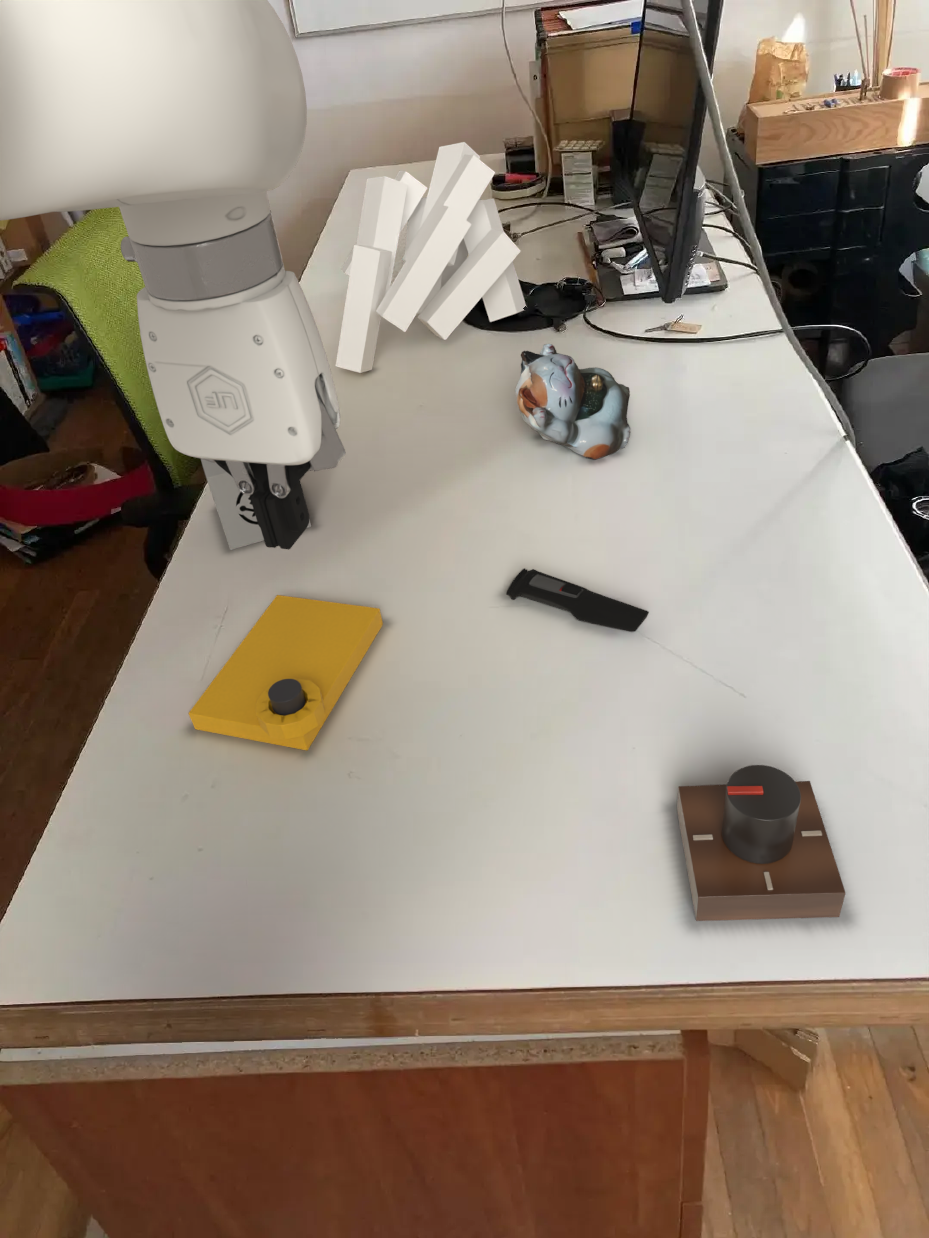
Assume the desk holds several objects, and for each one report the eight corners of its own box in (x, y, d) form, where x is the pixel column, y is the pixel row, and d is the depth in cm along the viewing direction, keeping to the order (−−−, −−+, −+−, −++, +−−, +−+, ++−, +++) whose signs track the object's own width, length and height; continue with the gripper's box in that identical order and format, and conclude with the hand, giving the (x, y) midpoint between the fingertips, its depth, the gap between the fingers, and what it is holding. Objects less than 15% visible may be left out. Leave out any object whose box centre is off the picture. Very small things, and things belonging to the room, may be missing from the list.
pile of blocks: (462, 428, 139) (553, 186, 123) (281, 349, 140) (347, 99, 124) (504, 385, 170) (581, 187, 153) (355, 321, 171) (416, 118, 155)
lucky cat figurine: (627, 465, 115) (574, 387, 106) (544, 488, 122) (487, 417, 113) (640, 380, 123) (591, 301, 114) (562, 406, 130) (510, 334, 121)
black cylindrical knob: (296, 718, 82) (291, 704, 81) (266, 713, 83) (261, 699, 82) (311, 695, 84) (306, 681, 83) (282, 690, 85) (277, 676, 84)
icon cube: (294, 488, 120) (275, 418, 114) (311, 526, 113) (292, 454, 106) (217, 509, 118) (194, 440, 112) (230, 550, 111) (206, 477, 104)
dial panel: (839, 917, 66) (846, 891, 64) (695, 921, 67) (698, 895, 65) (805, 805, 73) (810, 779, 71) (676, 810, 74) (678, 784, 72)
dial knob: (785, 808, 70) (793, 761, 66) (798, 864, 66) (808, 817, 63) (717, 808, 70) (722, 761, 67) (726, 864, 67) (731, 817, 63)
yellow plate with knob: (312, 760, 83) (302, 729, 80) (189, 736, 87) (176, 706, 84) (391, 625, 96) (385, 595, 94) (281, 610, 100) (273, 581, 98)
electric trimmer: (636, 648, 90) (637, 623, 88) (504, 599, 98) (502, 575, 96) (654, 626, 92) (656, 601, 90) (523, 580, 100) (522, 556, 98)
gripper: (55, 283, 50) (163, 558, 62) (302, 286, 45) (368, 583, 57) (135, 235, 55) (220, 497, 67) (363, 234, 51) (412, 515, 62)
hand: (288, 536), depth 62 cm, fingers closed
